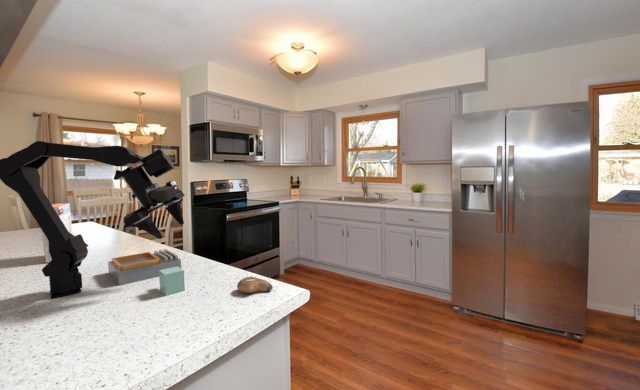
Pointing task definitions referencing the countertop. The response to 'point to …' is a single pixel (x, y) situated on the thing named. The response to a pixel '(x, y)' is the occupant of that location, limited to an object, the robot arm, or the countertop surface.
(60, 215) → the cracker box
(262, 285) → the brown rounded lump
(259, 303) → the countertop surface
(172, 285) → the mint green box
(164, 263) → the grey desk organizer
